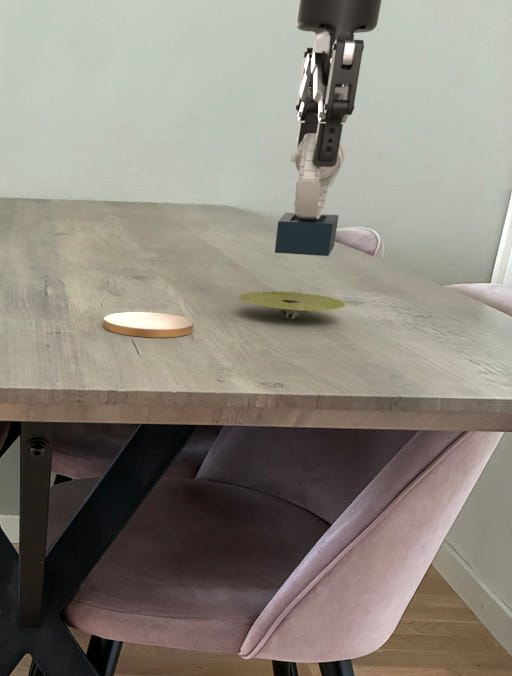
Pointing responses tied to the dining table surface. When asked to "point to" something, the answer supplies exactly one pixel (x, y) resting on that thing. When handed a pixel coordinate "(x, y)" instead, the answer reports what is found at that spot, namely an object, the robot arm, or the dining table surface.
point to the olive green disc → (292, 302)
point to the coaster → (148, 324)
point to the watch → (309, 206)
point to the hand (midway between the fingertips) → (313, 164)
